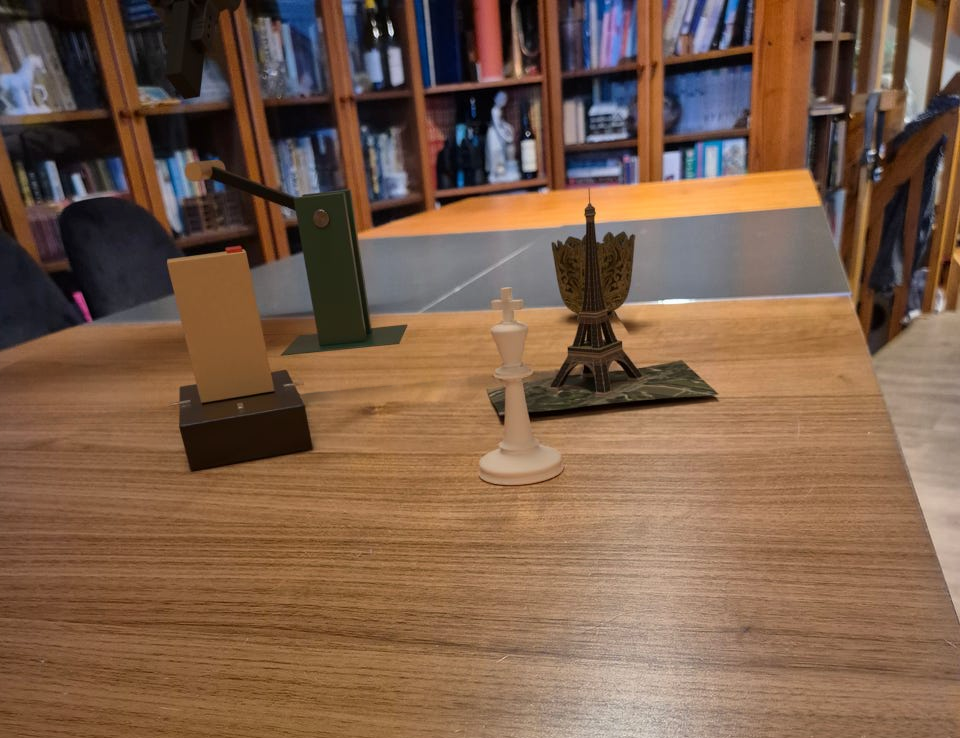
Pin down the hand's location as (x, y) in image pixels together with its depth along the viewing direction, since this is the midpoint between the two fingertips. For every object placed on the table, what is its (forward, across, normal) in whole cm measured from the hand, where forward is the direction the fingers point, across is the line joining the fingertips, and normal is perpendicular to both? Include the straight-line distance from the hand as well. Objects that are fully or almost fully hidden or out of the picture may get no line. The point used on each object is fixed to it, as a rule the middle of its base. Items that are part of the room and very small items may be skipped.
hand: (182, 86), depth 75 cm
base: (+31, -10, +2) cm, 33 cm away
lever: (+4, -2, -10) cm, 11 cm away
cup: (+12, -30, -23) cm, 40 cm away
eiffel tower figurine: (+26, -34, -5) cm, 43 cm away
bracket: (+14, -7, -19) cm, 25 cm away
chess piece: (+36, -32, +8) cm, 49 cm away
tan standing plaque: (+28, -10, +4) cm, 30 cm away
